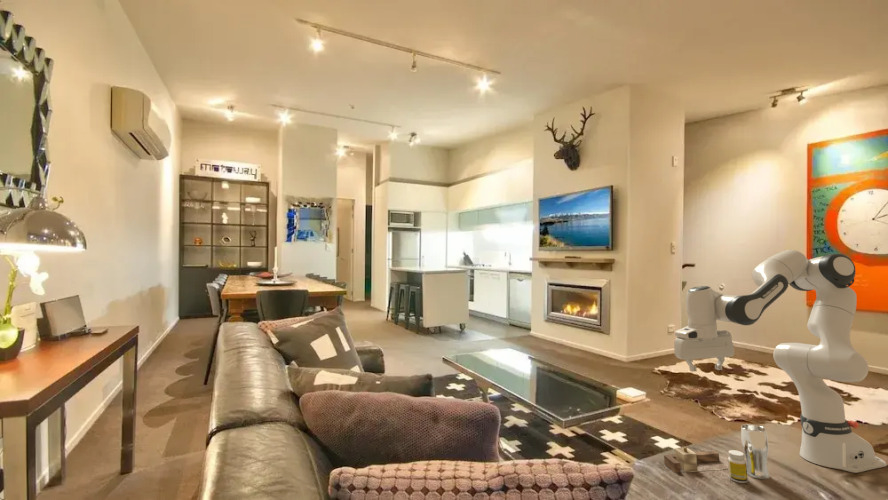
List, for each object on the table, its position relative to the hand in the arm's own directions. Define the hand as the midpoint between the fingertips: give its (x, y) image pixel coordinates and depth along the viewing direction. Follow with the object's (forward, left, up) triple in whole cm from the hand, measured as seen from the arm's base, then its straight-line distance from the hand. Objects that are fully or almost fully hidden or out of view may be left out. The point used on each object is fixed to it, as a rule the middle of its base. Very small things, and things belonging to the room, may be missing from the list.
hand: (705, 370), depth 144 cm
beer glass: (-6, +12, -31) cm, 34 cm away
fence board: (+9, +3, -31) cm, 32 cm away
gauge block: (+13, +4, -31) cm, 34 cm away
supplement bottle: (+2, +14, -31) cm, 34 cm away
